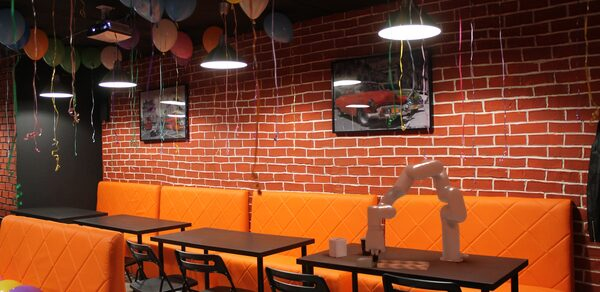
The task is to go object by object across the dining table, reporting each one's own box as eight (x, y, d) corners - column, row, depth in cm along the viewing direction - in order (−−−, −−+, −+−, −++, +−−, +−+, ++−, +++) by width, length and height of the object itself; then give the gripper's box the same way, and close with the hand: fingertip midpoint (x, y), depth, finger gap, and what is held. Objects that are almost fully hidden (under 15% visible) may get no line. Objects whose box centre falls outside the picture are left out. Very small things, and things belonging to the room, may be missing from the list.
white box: (341, 253, 329) (341, 237, 329) (351, 256, 318) (350, 239, 318) (326, 255, 324) (325, 238, 324) (335, 258, 313) (335, 241, 314)
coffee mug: (364, 256, 316) (363, 240, 316) (358, 254, 324) (358, 237, 324) (382, 255, 319) (381, 238, 319) (376, 252, 327) (375, 236, 327)
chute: (429, 267, 283) (429, 262, 283) (427, 271, 274) (426, 266, 274) (381, 264, 292) (381, 259, 292) (377, 269, 283) (377, 263, 283)
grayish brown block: (374, 265, 292) (374, 258, 292) (371, 268, 286) (371, 260, 286) (360, 264, 295) (360, 257, 295) (357, 267, 289) (357, 260, 289)
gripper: (389, 227, 289) (390, 261, 289) (362, 227, 294) (363, 260, 294) (386, 229, 282) (387, 264, 282) (359, 229, 287) (360, 262, 287)
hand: (375, 262), depth 288 cm, fingers closed
